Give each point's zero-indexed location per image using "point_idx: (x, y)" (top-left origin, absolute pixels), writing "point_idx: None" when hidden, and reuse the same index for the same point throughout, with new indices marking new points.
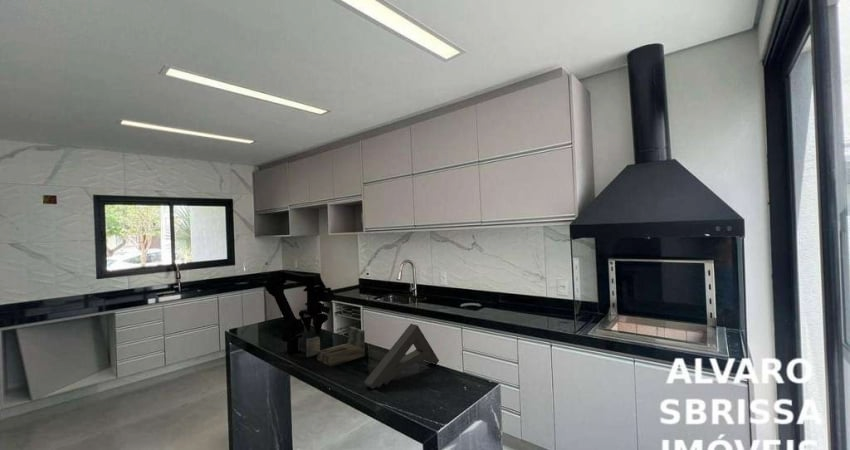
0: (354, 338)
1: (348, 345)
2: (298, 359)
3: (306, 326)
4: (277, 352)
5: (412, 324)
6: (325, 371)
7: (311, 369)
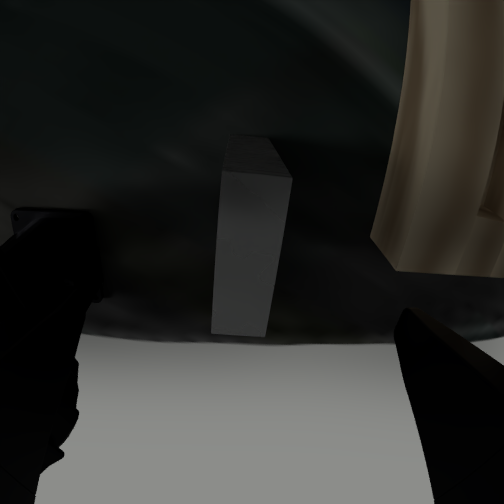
0: None
1: (498, 25)
2: None
3: (56, 400)
4: None
5: None
6: (495, 295)
7: None
